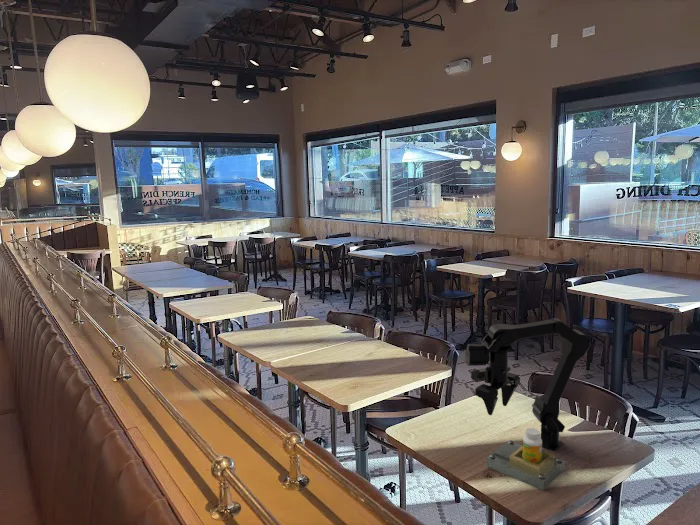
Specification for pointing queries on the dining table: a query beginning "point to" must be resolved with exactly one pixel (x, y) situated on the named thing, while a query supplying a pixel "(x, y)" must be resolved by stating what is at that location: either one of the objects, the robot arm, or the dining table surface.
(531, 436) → the supplement bottle
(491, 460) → the grey fixture plate
